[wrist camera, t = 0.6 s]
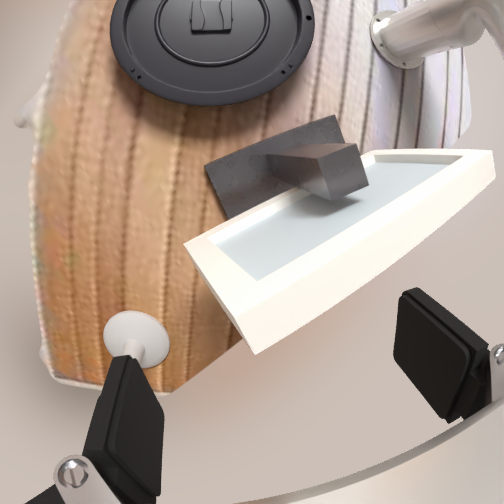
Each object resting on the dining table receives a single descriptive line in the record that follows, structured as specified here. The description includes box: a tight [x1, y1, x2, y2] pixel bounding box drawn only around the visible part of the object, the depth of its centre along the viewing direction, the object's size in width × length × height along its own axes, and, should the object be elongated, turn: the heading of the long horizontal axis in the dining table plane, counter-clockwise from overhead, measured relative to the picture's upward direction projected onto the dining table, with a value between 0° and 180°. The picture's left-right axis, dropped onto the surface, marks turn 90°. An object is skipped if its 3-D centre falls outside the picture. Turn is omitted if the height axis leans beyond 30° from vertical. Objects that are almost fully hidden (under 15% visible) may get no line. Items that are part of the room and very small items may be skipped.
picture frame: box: [184, 149, 496, 355], centre depth 29 cm, size 30×3×20 cm, turn 113°
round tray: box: [110, 0, 315, 107], centre depth 35 cm, size 30×6×30 cm
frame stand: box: [204, 115, 369, 219], centre depth 36 cm, size 22×9×23 cm, turn 113°
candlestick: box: [103, 311, 170, 368], centre depth 39 cm, size 13×13×30 cm
